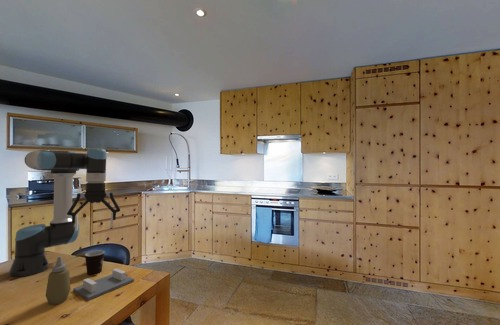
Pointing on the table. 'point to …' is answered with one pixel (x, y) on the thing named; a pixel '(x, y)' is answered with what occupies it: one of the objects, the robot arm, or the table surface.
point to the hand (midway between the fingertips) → (94, 228)
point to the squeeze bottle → (58, 283)
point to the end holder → (103, 284)
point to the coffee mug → (94, 262)
